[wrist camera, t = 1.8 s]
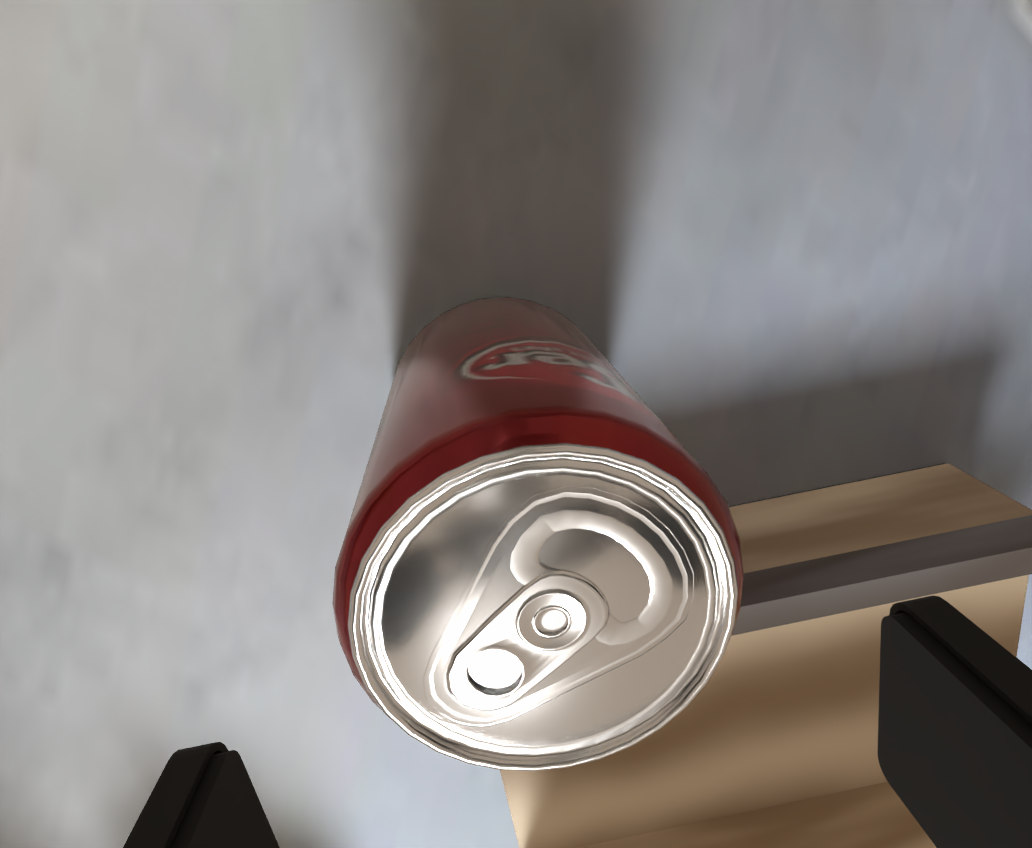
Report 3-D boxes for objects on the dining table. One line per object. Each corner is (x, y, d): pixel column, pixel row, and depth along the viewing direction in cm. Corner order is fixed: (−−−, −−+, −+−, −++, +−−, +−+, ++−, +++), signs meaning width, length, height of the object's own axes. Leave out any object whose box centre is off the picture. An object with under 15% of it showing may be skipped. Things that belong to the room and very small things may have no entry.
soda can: (508, 245, 20) (579, 321, 9) (644, 404, 22) (836, 625, 11) (347, 394, 21) (227, 629, 10) (492, 530, 23) (526, 843, 12)
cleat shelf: (463, 560, 24) (475, 1014, 11) (948, 463, 24) (1522, 785, 11) (520, 801, 29) (577, 1319, 15) (925, 715, 29) (1312, 1149, 16)
